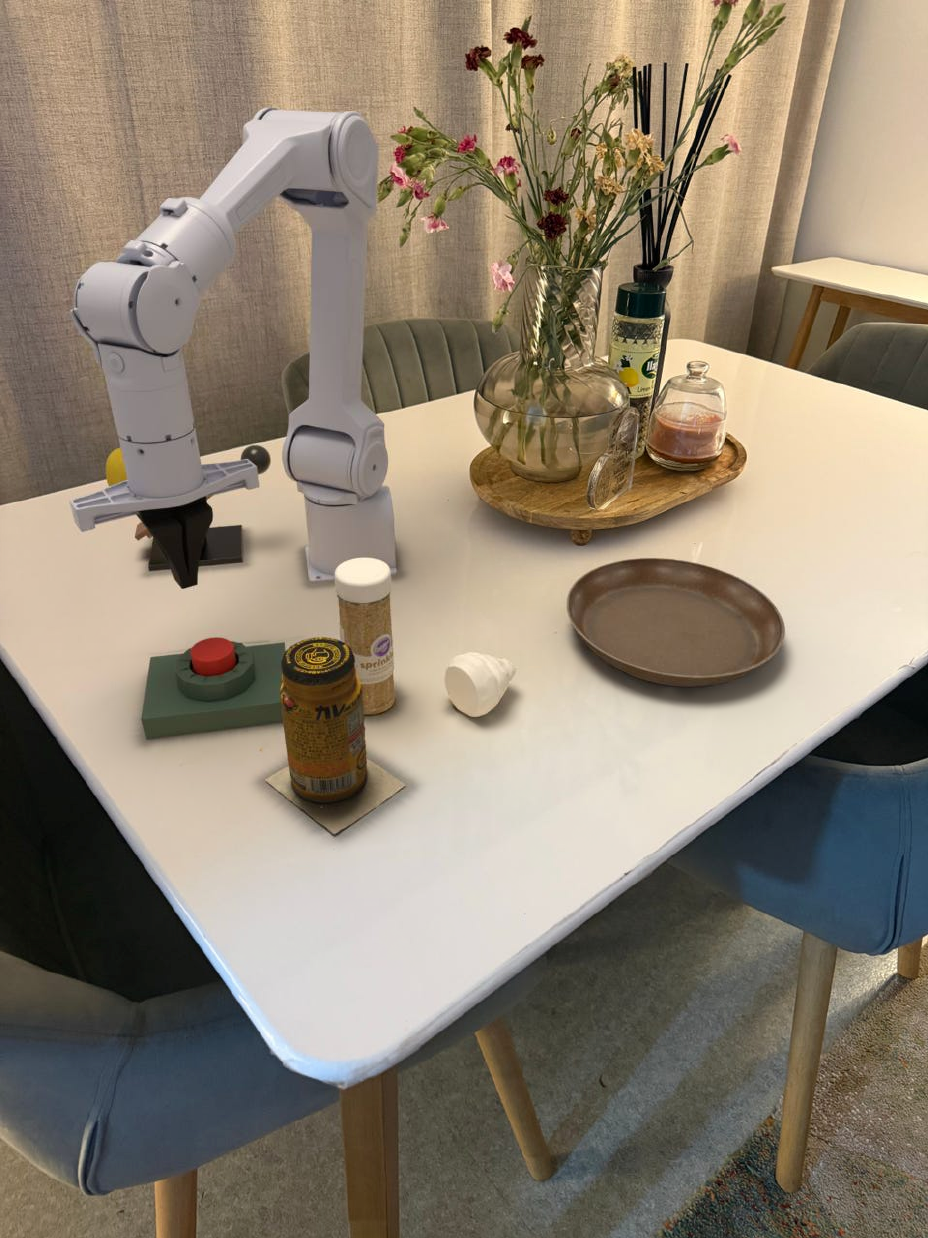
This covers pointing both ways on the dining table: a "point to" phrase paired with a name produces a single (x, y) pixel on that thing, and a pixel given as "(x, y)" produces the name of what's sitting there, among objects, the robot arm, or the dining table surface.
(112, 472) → the lemon
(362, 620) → the sprinkles bottle
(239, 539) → the bracket
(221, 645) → the button
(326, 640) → the condiment
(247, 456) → the lever
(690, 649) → the plant saucer
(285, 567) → the dining table surface
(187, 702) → the button box
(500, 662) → the white meringue
